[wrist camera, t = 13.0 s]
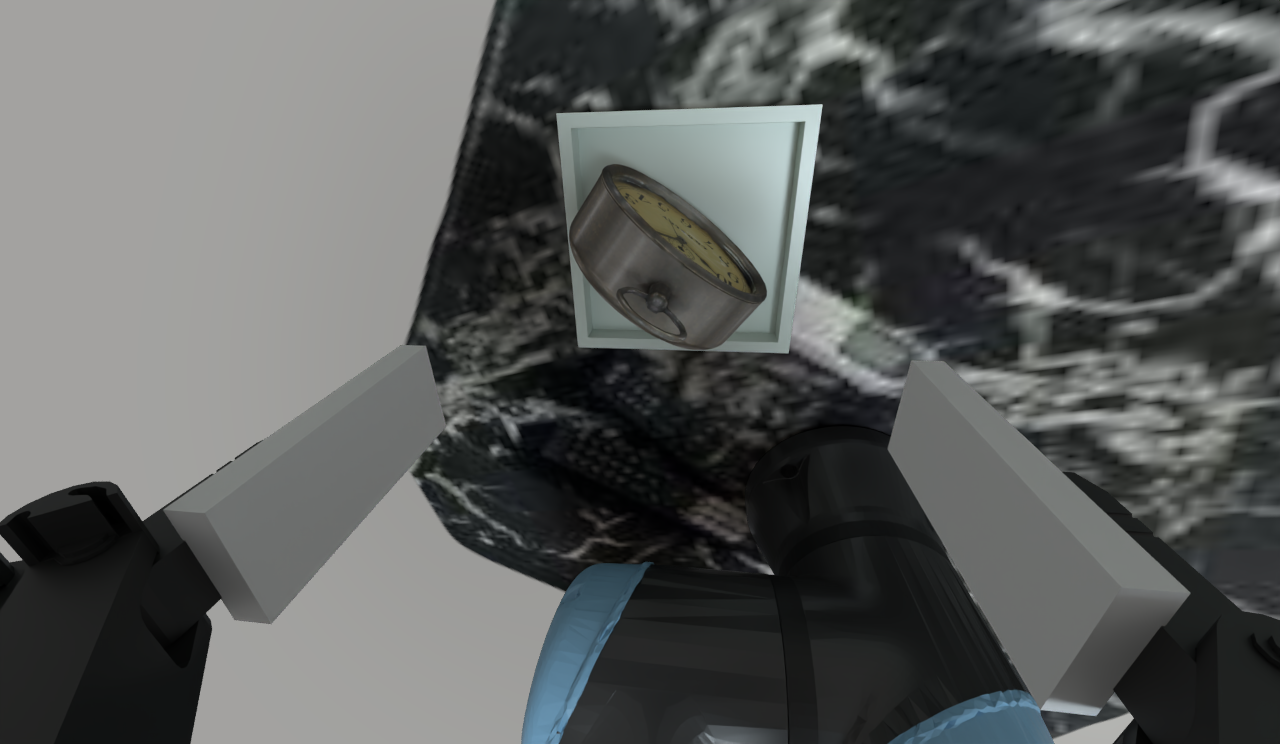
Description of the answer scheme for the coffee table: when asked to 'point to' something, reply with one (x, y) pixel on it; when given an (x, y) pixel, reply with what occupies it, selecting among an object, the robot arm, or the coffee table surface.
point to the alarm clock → (662, 261)
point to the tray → (704, 200)
